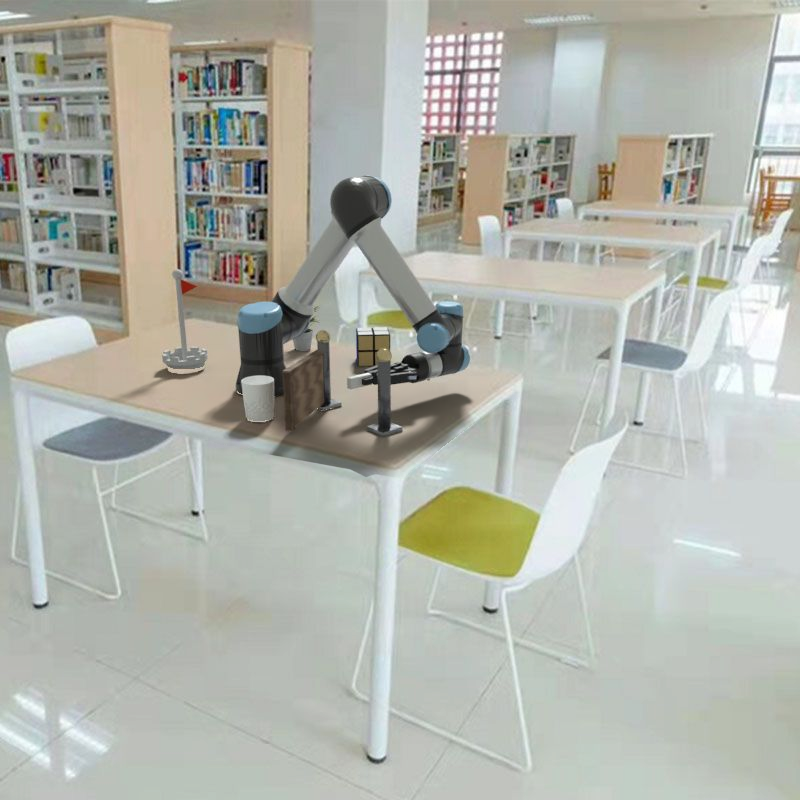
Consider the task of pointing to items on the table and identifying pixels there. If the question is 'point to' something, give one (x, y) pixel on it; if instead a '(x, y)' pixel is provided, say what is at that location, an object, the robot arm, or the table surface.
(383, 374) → the gate posts
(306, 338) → the house plant
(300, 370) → the panel
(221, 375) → the table surface
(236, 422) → the table surface
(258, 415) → the white cup
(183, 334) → the flag stand
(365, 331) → the puzzle cube
